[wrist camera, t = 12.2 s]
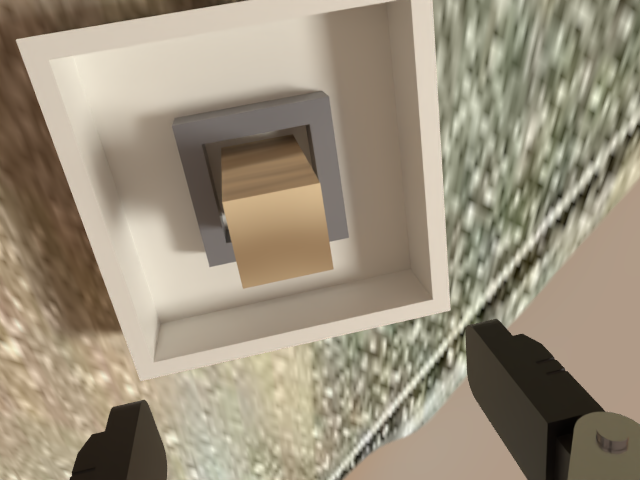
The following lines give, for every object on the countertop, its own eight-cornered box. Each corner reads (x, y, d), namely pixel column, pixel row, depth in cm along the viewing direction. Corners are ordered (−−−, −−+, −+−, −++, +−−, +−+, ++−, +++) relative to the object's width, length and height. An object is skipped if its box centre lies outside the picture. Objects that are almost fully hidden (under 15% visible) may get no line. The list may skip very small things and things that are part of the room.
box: (49, 33, 27) (15, 39, 23) (397, -25, 29) (430, -30, 24) (150, 331, 35) (140, 381, 30) (421, 272, 36) (450, 310, 32)
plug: (221, 147, 30) (222, 202, 22) (292, 134, 30) (320, 183, 22) (236, 214, 31) (242, 288, 23) (304, 201, 32) (333, 269, 24)
